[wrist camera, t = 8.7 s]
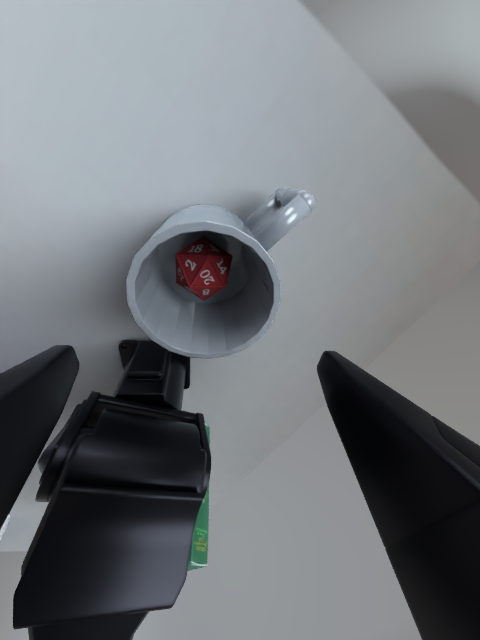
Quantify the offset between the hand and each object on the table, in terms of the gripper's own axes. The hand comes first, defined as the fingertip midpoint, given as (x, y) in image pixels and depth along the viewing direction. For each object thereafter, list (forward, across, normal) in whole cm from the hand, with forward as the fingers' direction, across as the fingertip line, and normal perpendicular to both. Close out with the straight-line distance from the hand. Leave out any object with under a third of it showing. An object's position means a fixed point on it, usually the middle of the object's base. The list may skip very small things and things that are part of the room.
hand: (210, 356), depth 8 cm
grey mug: (+11, -1, -1) cm, 11 cm away
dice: (+11, 0, 0) cm, 11 cm away
